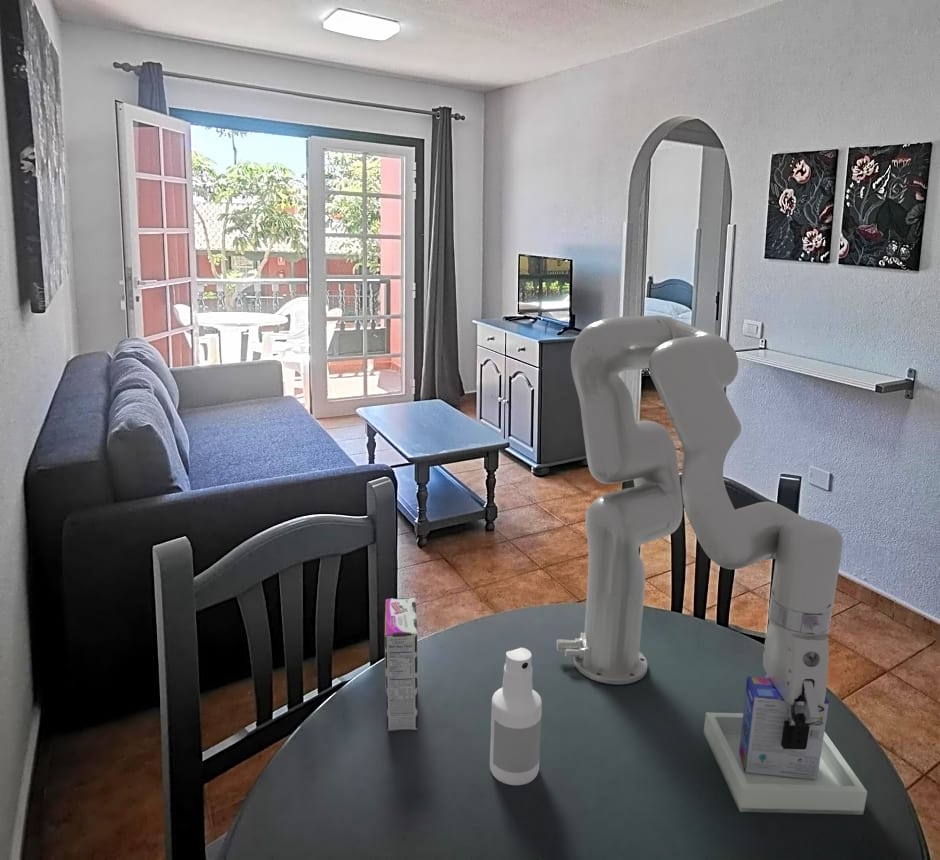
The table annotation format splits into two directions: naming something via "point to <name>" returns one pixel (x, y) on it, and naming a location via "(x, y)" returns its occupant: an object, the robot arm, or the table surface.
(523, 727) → the spray bottle
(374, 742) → the table surface
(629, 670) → the robot arm
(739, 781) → the tray
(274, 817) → the table surface
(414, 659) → the candy bar box
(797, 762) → the ink cartridge box
